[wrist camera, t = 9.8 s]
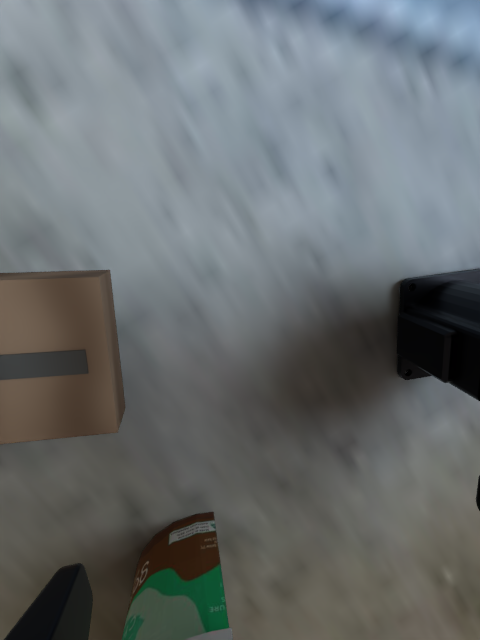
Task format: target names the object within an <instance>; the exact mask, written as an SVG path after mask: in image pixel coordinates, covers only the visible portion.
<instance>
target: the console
mask: <svg viewBox="0 0 480 640" xmlns="http://www.w3.org/2000/svg"><path fill="white" fill-rule="evenodd" d="M124 411H125V400H124V391H123V382H122V373H121V365H120V356H119V347H118V338H117V329H116V320H115V311H114V302H113V293H112V284H111V275H110V270H93V271H60V272H27V273H0V444H6V443H16V442H26V441H37V440H47V439H57V438H67V437H77V436H87V435H97V434H107V433H117V432H118V430H119V427H120V424H121V420H122V417H123V414H124Z"/></svg>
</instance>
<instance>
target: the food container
mask: <svg viewBox="0 0 480 640" xmlns="http://www.w3.org/2000/svg"><path fill="white" fill-rule="evenodd" d="M122 640H233V636H232V628H229V624H228V616H227V609H226V601H225V594H224V586H223V579H222V572H221V564H220V557H219V549H218V542H217V534H216V527H215V520H214V512H208V513H201V514H195V515H192V516H190V517H187V518H184V519H182V520H179V521H176V522H174V523H172V524H171V525H169V526H168V527H166V528H165V529H163V530H162V531H161V532H159V533H158V534H156V535H155V536H154V537H153V539H152V540H151V541H150V542H149V544H148V545H147V546H146V547H145V548H144V550H143V551H142V553H141V556H140V559H139V561H138V564H137V569H136V574H135V578H134V583H133V588H132V593H131V598H130V603H129V608H128V612H127V617H126V622H125V627H124V632H123V637H122Z"/></svg>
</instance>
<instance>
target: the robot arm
mask: <svg viewBox="0 0 480 640" xmlns="http://www.w3.org/2000/svg"><path fill="white" fill-rule="evenodd" d="M410 284H412V288H411V289H410V290H408V287H409V285H410ZM397 354H398V367H397V372H398V375H399V376H400V377H401V378H403V379H405V380H410V379H415V378H421V377H427V376H434V377H435V378H437V379H439V380H440V381H442V382H444V383H450V384H452V385H453V386H455V387H457V388H458V389H460V390H462V391H463V392H465V393H467V394H468V395H470V396H472V397H473V398H475V399H477V400H478V401H480V269H475V270H467V271H459V272H452V273H444V274H437V275H429V276H422V277H414V278H408V279H405V280H404V281H403V282H402V283H401V287H400V310H399V316H398V335H397ZM407 369H408V372H407V373H405V371H406V370H407ZM476 503H477V506H478V509H479V511H480V476H479V479H478V488H477V496H476ZM92 601H93V599H92V591H91V587H90V584H89V580H88V577H87V574H86V570H85V568H84V566H83V564H81V563H78V564H73V565H69V566H65V567H62V568H60V569H59V570H58V571H57V572H56V574H55V575H54V576H53V577H52V579H51V580H50V581H49V582H48V584H47V585H46V586H45V588H44V589H43V590H42V591H41V593H40V594H39V595H38V597H37V598H36V599H35V600H34V602H33V603H32V604H31V606H30V607H29V608H28V609H27V611H26V612H25V613H24V614H23V616H22V617H21V618H20V620H19V621H18V622H17V623H16V625H15V626H14V627H13V629H12V630H11V631H10V632H9V634H8V635H7V636H6V638H5V639H4V640H88V636H89V628H90V620H91V612H92Z"/></svg>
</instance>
